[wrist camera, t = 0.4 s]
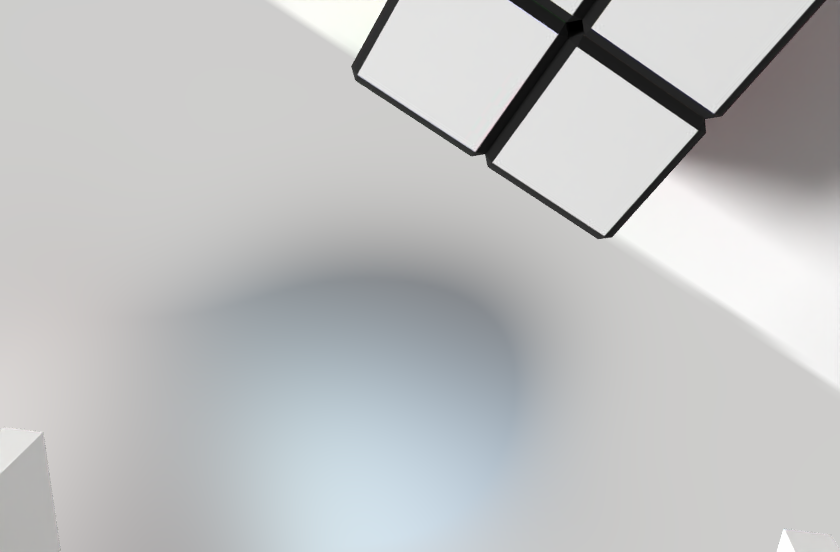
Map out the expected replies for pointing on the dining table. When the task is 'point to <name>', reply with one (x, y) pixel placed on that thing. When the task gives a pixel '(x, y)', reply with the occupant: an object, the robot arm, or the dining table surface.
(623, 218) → the puzzle cube
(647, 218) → the dining table surface
